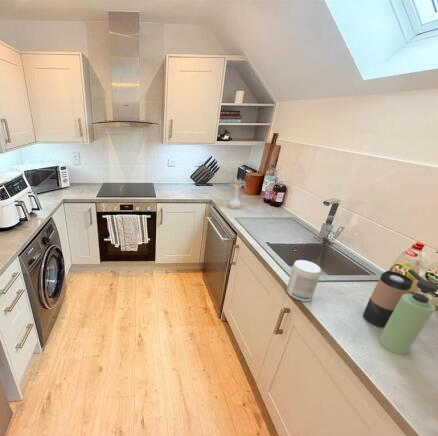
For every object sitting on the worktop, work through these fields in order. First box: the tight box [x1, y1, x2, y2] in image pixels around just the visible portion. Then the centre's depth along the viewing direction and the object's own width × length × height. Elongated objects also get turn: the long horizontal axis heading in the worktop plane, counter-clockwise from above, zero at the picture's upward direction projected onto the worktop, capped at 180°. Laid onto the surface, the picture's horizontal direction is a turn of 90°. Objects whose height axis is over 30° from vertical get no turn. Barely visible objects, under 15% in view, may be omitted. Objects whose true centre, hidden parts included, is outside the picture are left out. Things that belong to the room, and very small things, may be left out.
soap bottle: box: [377, 292, 436, 356], centre depth 75 cm, size 7×7×21 cm
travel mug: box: [362, 270, 414, 329], centre depth 85 cm, size 8×8×20 cm
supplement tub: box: [286, 259, 322, 302], centre depth 99 cm, size 10×10×15 cm
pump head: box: [407, 268, 438, 295], centre depth 72 cm, size 10×4×3 cm, turn 161°
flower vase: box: [228, 177, 247, 210], centre depth 194 cm, size 13×18×25 cm
